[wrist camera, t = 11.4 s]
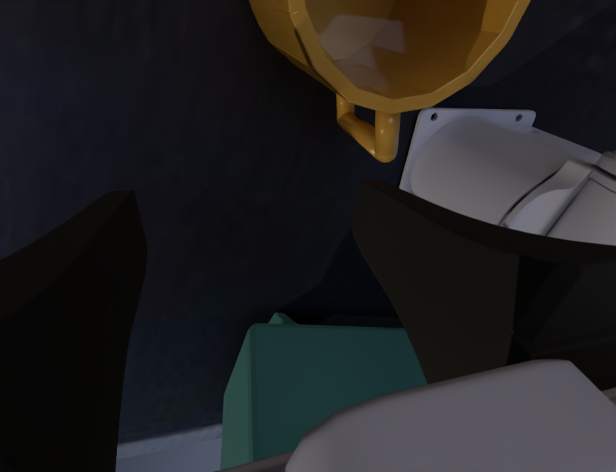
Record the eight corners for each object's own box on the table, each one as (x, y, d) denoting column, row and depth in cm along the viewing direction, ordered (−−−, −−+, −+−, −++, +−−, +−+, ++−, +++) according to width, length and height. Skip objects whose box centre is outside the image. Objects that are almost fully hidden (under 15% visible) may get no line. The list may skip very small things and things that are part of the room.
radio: (205, 373, 32) (210, 596, 20) (230, 294, 27) (256, 528, 15) (460, 366, 45) (552, 495, 34) (508, 313, 40) (635, 442, 29)
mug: (225, -143, 13) (258, -301, 6) (412, -150, 15) (614, -288, 7) (268, 127, 20) (307, 199, 13) (394, 105, 21) (492, 159, 14)
